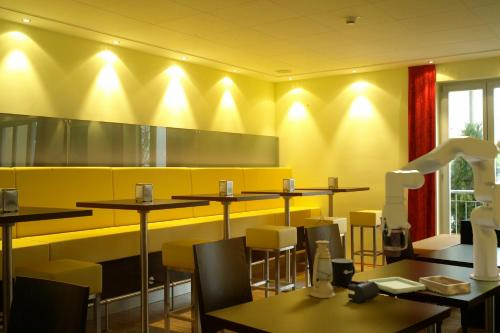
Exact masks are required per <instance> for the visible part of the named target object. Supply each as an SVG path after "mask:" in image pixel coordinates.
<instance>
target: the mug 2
mask: <svg viewBox="0 0 500 333" xmlns="http://www.w3.org/2000/svg"><path fill="white" fill-rule="evenodd" d="M402 230H404V231H405V233H406V235H405V245H404V247H402V245H400V232H402ZM387 232H388V231H387ZM383 236H384V235H383ZM390 236H391V246H387V245H385V236H384V238H383V239H384V240H383V246H382V249H383V251H382V252H383V256H385V257H392V258H395V257H396V258H398V257H400V256H401V251H402V250H405V249H407V248H408V245H409V244H408V243H409V242H408V240H409V230H407V228H402V229H401V230H400V229H392V231H391V234H390Z"/></svg>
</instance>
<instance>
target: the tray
mask: <svg viewBox="0 0 500 333" xmlns="http://www.w3.org/2000/svg"><path fill="white" fill-rule="evenodd" d="M371 281H373V282H375V283H376V284H377V285H378V287H379V290H382V291H384V292H388V293H390V294H393V295H397V294H403V293H405V294H406V293H412V292H413V291H414V292H419V291H418V290H422V291H427V290H428V289H427V285H424V284H421V283H419V282H418V281H415V280H414V281H413V280H411V279H407V278H403V277H400V276H391V277H383V278H382V277H381V278H375V279H366V281H365V282H371Z"/></svg>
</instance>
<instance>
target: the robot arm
mask: <svg viewBox="0 0 500 333" xmlns="http://www.w3.org/2000/svg"><path fill="white" fill-rule="evenodd" d="M498 154H499V148H498V147H497V145H496V144H495V143H494V142H492V141H490V140H486V139H481V138H477V137H474V136H467V135H464V136H463V135H462V136H452V137H449V138H447V139H446V140H444V141H443V142H442V143H441V142H440V144H439V145H437V146H436V147H435V148H433V149H432V150H431V151H430V152H428V153H426V154H424V155H422V156H420V157H418V158H415V159H413V160H412V161H410V162H409V163H406V164H405V165H404V166H402V167H400V169H398V170H396V171H395V170H390V171H389V170H388V171H386V172H385V175H384V180H385V181H384V182H385V184H384V185H385V186H384V190H385V192H384V193H385V196H384V197H385V201H384V202H385V204H383V206H382V211H381V222H380V225H379V226H378V229H379V230H380V231H381V233H382V234H383V236H385V245H387V246H391V236H390V234H391V231H392V229H400V230H401V229H402V228H407V230H408V231H409V229H411V227H412V225H411V224H410V223H409V222H408V212H407V211H408V210H407V206H406V204H405V202H406V201H407V199H406V198H405V189H408V190H409V189H411V190H416V189H419V188H422V186H424V184H425V181H426V180H425V176H424V175H427V174H432V173H434V172H438V171H440V170H442V169H444V167H446V166H448V164H449V163H451V162H452V161H454V160H456V158H458V157H459V158H460V157H462V159H463V160H464V161H466V163H468V164H469V165H470V168H471V170H472V174H473V197H474V199H475V201H476V202H478V203H483V204H490V205H491V206H486V205H479V206H476V207H474V208H473V209H472V210H471V212H470V216H469V218H470V224H471V228H472V235H473V236H472V242H473V243H472V246H473V249H472V250H473V251H472V253H473V256H472V257H473V259H472V261H473V273H470V274H469V277H470V279H473V280H477V281H483V282H484V281H486V282H497V281H500V268H499V267H498V238H497V233H496V231H495V230H497V231H500V181H496V174H495V168H494V165H493V163H492V161H494V160H495V159H497V156H498ZM387 231H388V232H387ZM405 235H406V233H405V231H404V230H402V232H400V246H405Z"/></svg>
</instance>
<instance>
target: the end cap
mask: <svg viewBox="0 0 500 333" xmlns="http://www.w3.org/2000/svg"><path fill="white" fill-rule="evenodd" d="M347 290H348V291H351V292H354V294H352V293H350V292H349V293H347V298H348V302H349V303H352V304H356V303H357V304H356V305H359V304H362V303H366V302H369V301H372V300H374V299H376V298H377V297H379V295H380V289H379V287H378V285H377V284H376V283H375V282H373V281H371V282H366V281H358V282H357V284H356V283H351V284H350V285H348V286H347Z"/></svg>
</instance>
